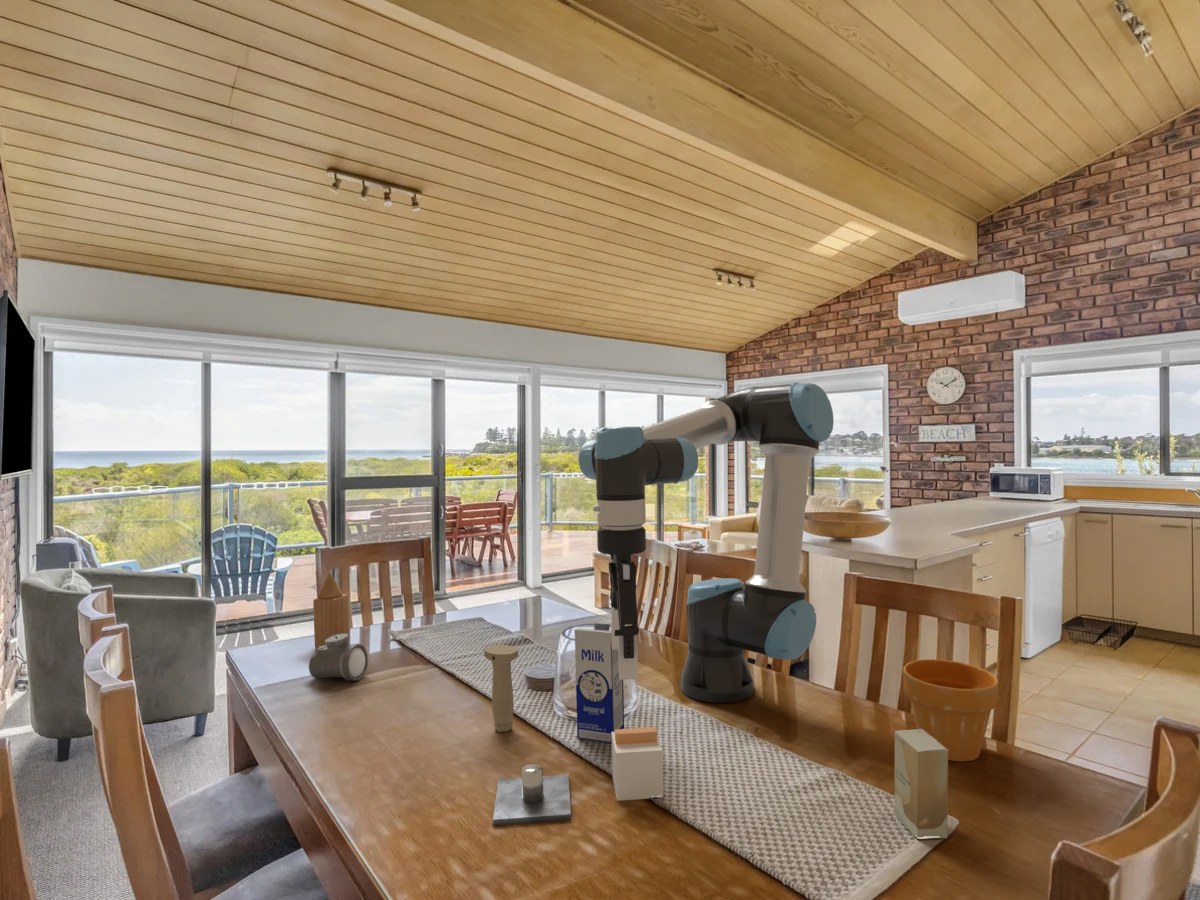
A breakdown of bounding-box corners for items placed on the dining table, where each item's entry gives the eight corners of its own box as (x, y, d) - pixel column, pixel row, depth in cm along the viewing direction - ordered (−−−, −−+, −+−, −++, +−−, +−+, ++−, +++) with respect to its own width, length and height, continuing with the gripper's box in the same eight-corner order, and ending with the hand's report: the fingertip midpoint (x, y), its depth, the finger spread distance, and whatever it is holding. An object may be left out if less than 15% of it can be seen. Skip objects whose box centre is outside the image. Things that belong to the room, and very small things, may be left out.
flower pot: (988, 736, 116) (987, 662, 115) (1009, 776, 102) (1008, 693, 102) (900, 726, 120) (899, 655, 120) (909, 763, 107) (908, 684, 107)
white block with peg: (655, 773, 106) (654, 719, 106) (663, 797, 99) (662, 739, 99) (612, 776, 105) (611, 722, 105) (617, 800, 98) (615, 742, 98)
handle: (509, 738, 120) (507, 656, 119) (481, 731, 123) (479, 651, 122) (525, 727, 124) (522, 648, 123) (497, 720, 127) (495, 643, 127)
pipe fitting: (373, 671, 155) (365, 629, 154) (352, 687, 147) (344, 642, 146) (329, 673, 158) (321, 632, 157) (307, 689, 150) (298, 645, 149)
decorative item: (313, 649, 173) (311, 573, 173) (328, 641, 180) (325, 568, 179) (337, 649, 172) (334, 573, 172) (350, 641, 179) (348, 568, 178)
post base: (568, 779, 105) (567, 749, 105) (571, 819, 94) (570, 786, 94) (498, 784, 104) (497, 754, 104) (493, 825, 93) (492, 791, 93)
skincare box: (893, 814, 93) (891, 729, 93) (922, 812, 94) (921, 727, 93) (918, 842, 87) (917, 750, 86) (950, 840, 87) (949, 748, 87)
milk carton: (576, 738, 119) (573, 628, 118) (589, 722, 125) (587, 618, 125) (613, 744, 116) (610, 631, 116) (625, 727, 123) (622, 620, 122)
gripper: (593, 517, 114) (595, 638, 115) (601, 539, 89) (605, 694, 90) (636, 515, 115) (638, 637, 115) (656, 537, 90) (659, 692, 90)
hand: (624, 662), depth 103 cm, fingers open, 13 cm apart
